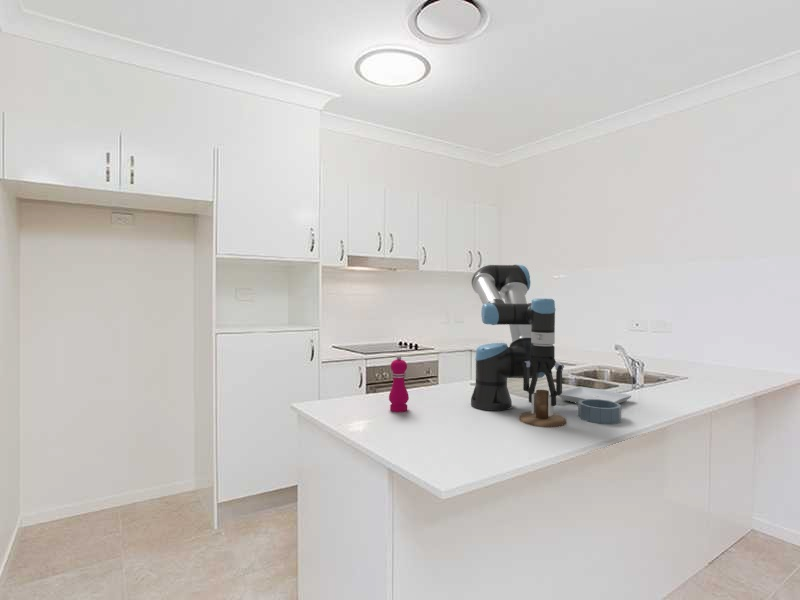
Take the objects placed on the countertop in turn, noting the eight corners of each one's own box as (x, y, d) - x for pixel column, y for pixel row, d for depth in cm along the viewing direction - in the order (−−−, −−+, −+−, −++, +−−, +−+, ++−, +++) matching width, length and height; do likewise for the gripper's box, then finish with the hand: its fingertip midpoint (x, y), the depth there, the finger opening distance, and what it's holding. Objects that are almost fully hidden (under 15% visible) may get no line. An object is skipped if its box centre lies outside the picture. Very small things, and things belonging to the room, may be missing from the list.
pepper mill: (396, 406, 171) (396, 353, 170) (412, 409, 167) (412, 354, 166) (384, 410, 165) (384, 355, 165) (401, 413, 161) (401, 357, 160)
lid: (512, 422, 151) (512, 392, 150) (528, 412, 163) (528, 384, 163) (558, 430, 142) (558, 398, 142) (571, 419, 154) (571, 389, 154)
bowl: (574, 419, 154) (574, 404, 153) (584, 411, 164) (584, 397, 164) (616, 426, 146) (616, 410, 146) (623, 417, 157) (623, 402, 157)
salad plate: (632, 402, 178) (632, 394, 178) (610, 412, 164) (610, 403, 164) (580, 393, 194) (580, 385, 194) (555, 402, 179) (555, 393, 179)
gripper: (512, 343, 154) (512, 412, 155) (567, 347, 144) (566, 421, 144) (520, 341, 160) (520, 407, 161) (573, 345, 150) (572, 415, 150)
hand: (542, 413), depth 152 cm, fingers open, 5 cm apart
